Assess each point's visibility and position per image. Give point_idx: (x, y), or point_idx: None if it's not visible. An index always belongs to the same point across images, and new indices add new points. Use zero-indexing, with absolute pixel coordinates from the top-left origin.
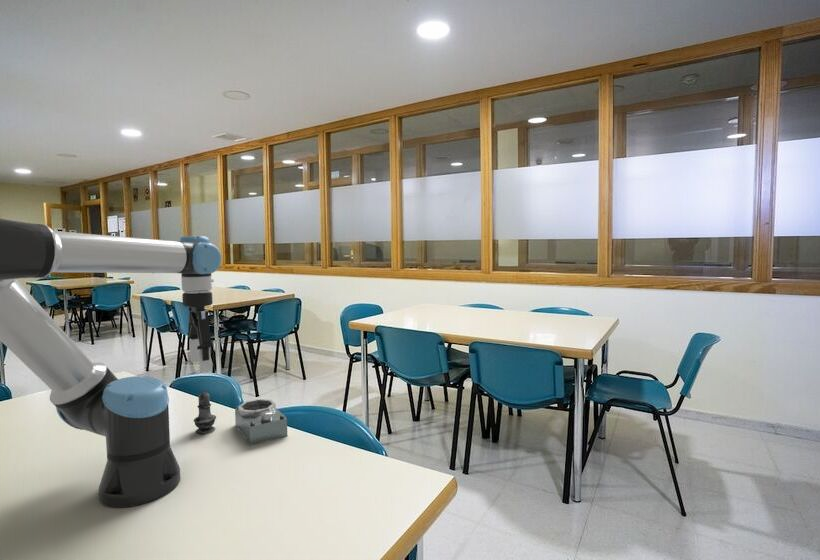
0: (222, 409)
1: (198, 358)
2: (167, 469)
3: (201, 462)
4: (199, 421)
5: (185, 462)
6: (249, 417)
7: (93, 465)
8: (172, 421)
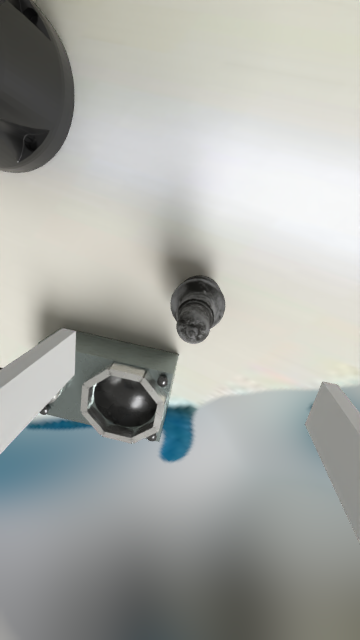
0: (298, 378)
1: (314, 425)
2: None
3: (45, 228)
4: (183, 287)
5: (65, 203)
6: (92, 368)
7: (195, 3)
8: (329, 262)
